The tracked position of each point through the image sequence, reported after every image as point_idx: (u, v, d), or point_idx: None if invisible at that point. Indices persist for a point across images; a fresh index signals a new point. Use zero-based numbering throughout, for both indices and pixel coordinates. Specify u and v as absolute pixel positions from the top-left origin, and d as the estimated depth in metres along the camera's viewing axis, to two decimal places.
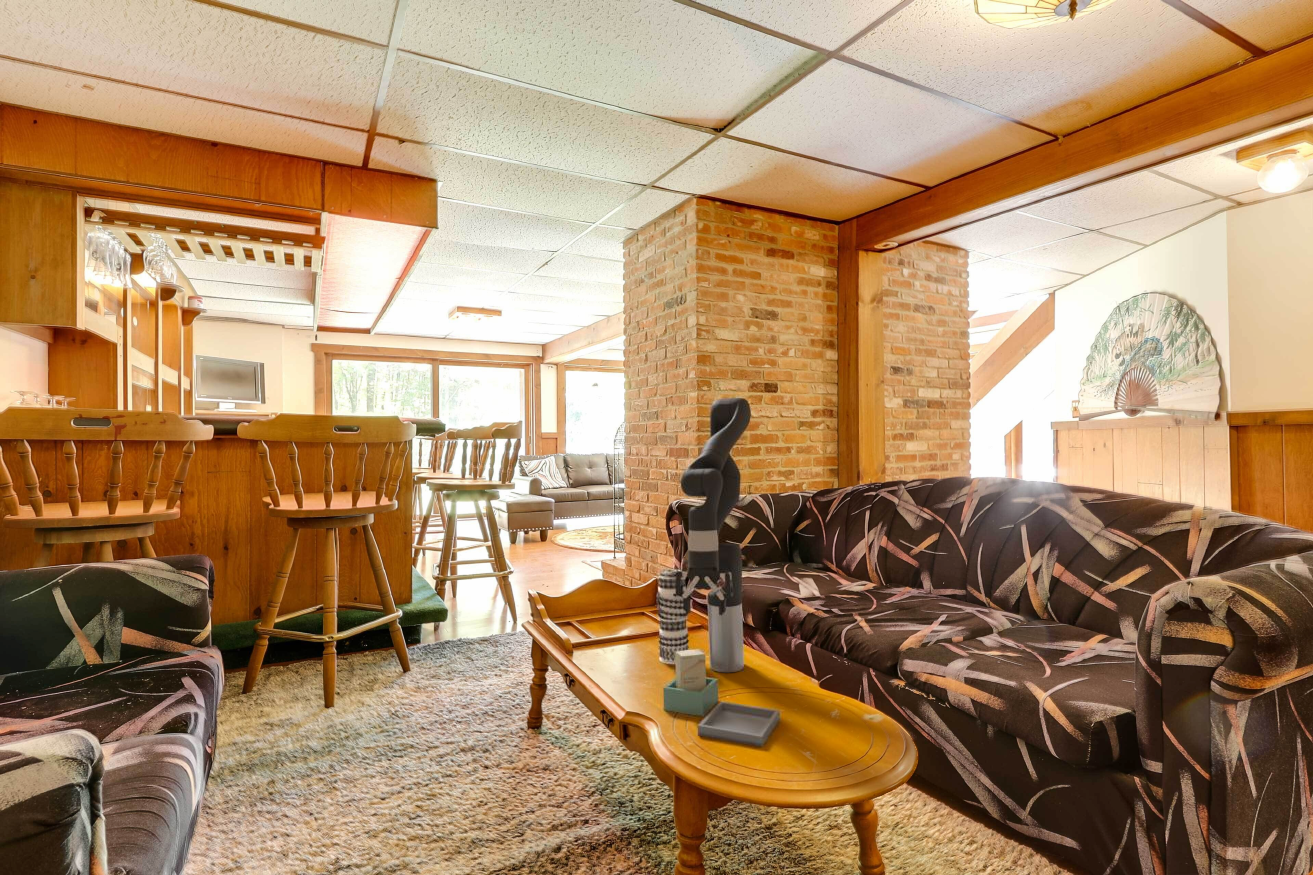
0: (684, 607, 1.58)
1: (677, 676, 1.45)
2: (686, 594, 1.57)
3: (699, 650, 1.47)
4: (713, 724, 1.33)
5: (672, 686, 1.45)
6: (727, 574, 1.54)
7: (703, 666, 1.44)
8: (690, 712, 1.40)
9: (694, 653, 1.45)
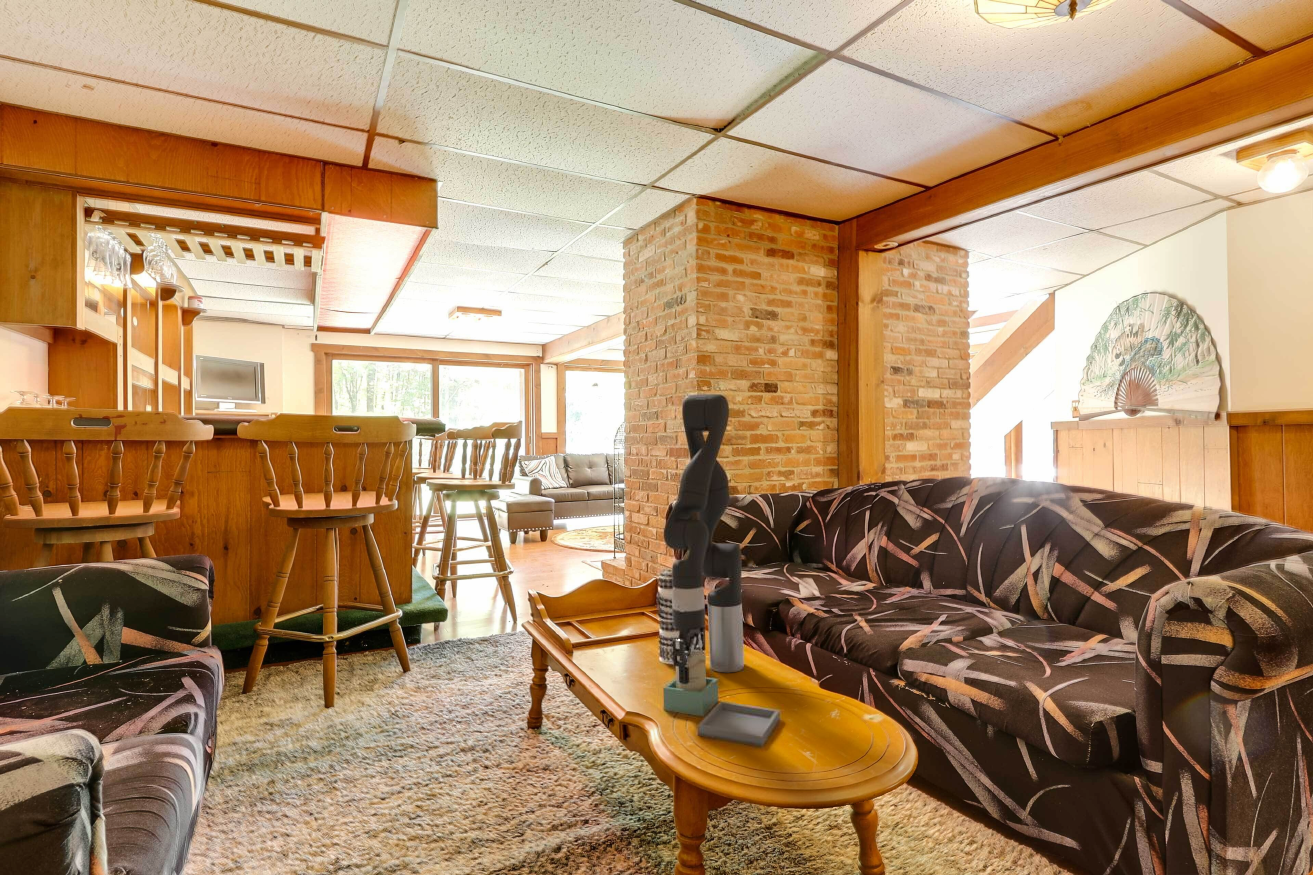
0: (685, 678, 1.41)
1: (677, 676, 1.45)
2: (688, 662, 1.41)
3: (699, 650, 1.47)
4: (713, 724, 1.33)
5: (672, 686, 1.45)
6: (704, 626, 1.50)
7: (703, 666, 1.44)
8: (690, 712, 1.40)
9: (694, 653, 1.45)
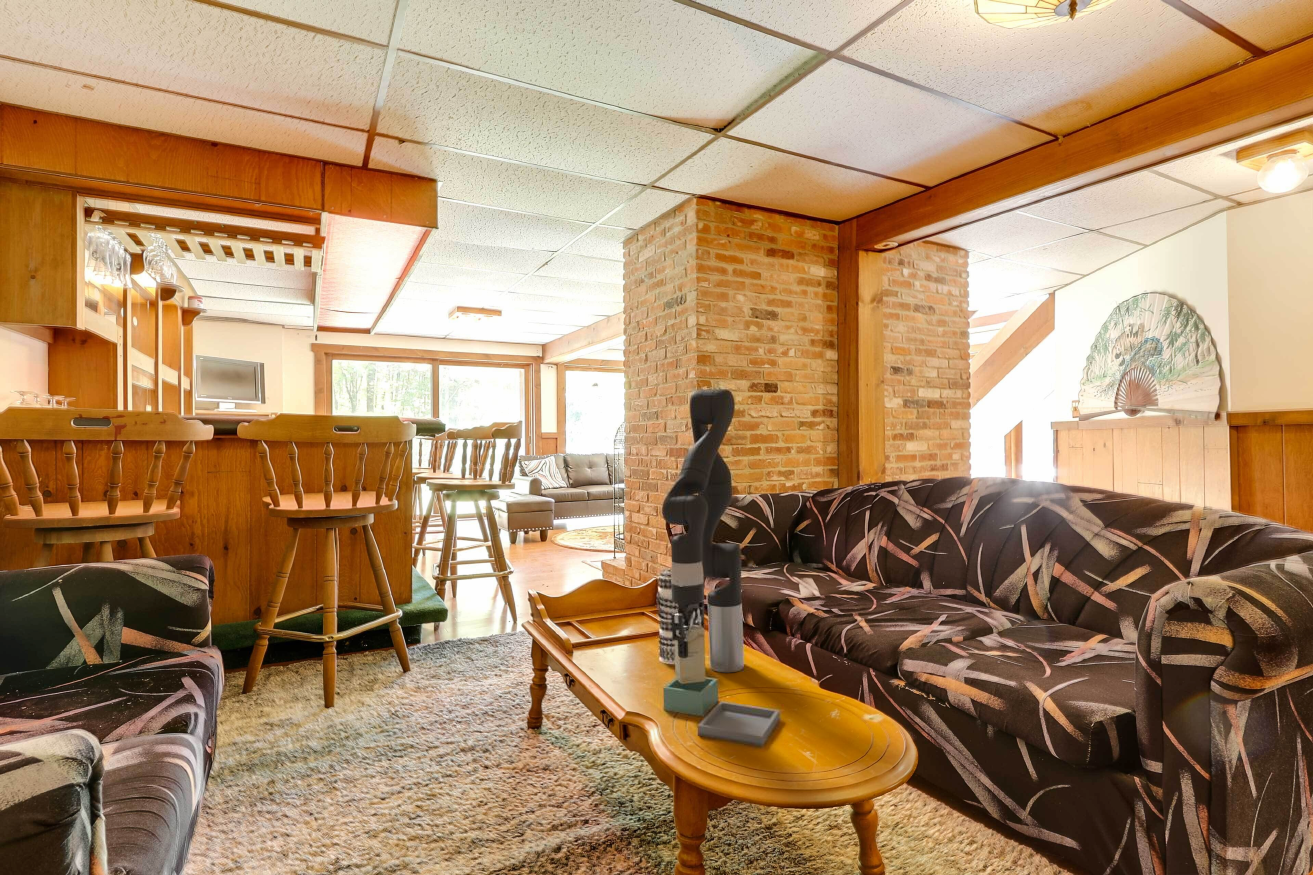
0: (684, 652, 1.41)
1: (676, 651, 1.45)
2: (687, 636, 1.42)
3: (698, 625, 1.47)
4: (713, 724, 1.33)
5: (672, 686, 1.45)
6: (703, 602, 1.51)
7: (702, 641, 1.44)
8: (690, 712, 1.40)
9: (693, 627, 1.45)
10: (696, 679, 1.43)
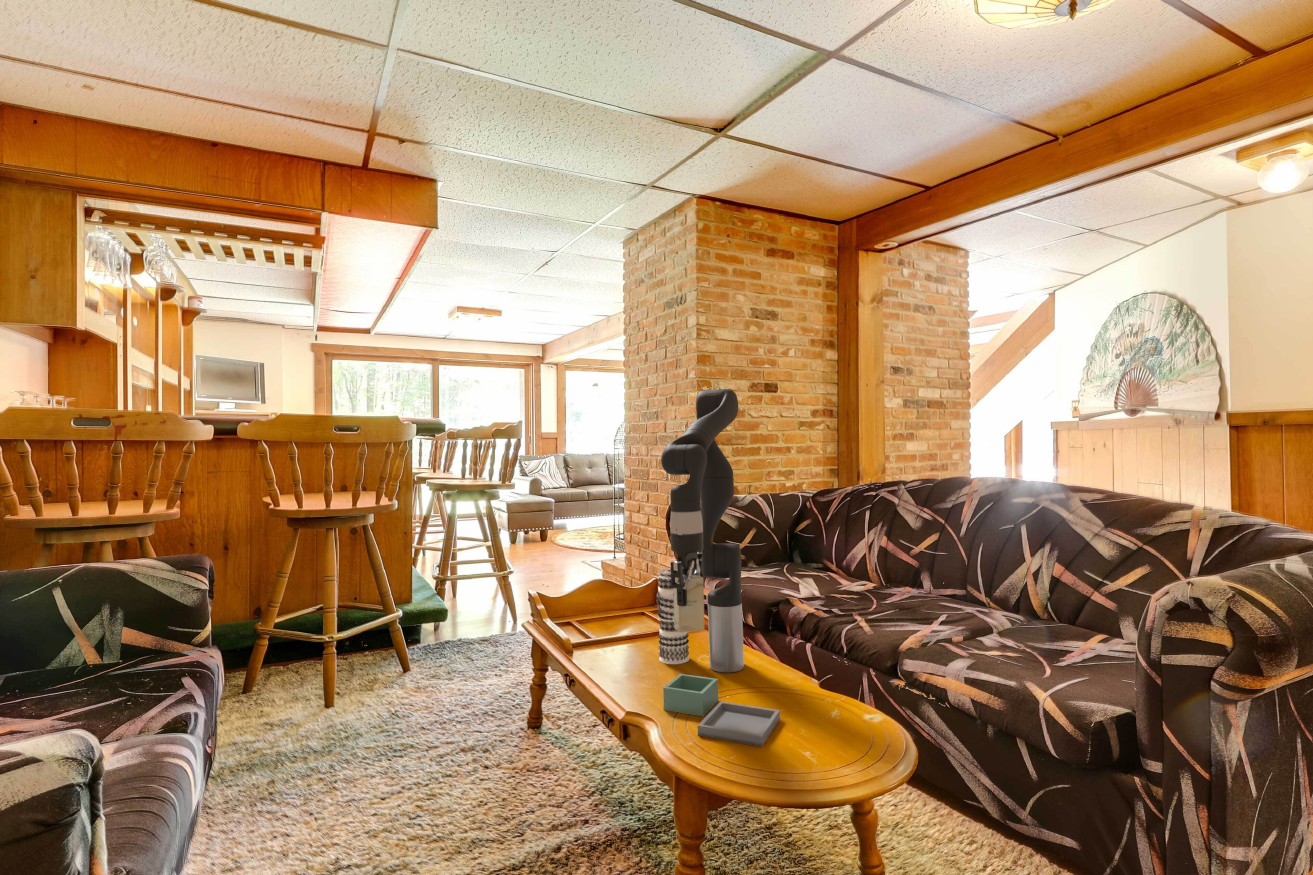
0: (683, 600, 1.41)
1: (675, 600, 1.45)
2: (686, 584, 1.42)
3: (697, 575, 1.47)
4: (713, 724, 1.33)
5: (672, 686, 1.45)
6: (702, 554, 1.51)
7: (701, 590, 1.44)
8: (690, 712, 1.40)
9: (692, 577, 1.45)
10: (695, 628, 1.43)
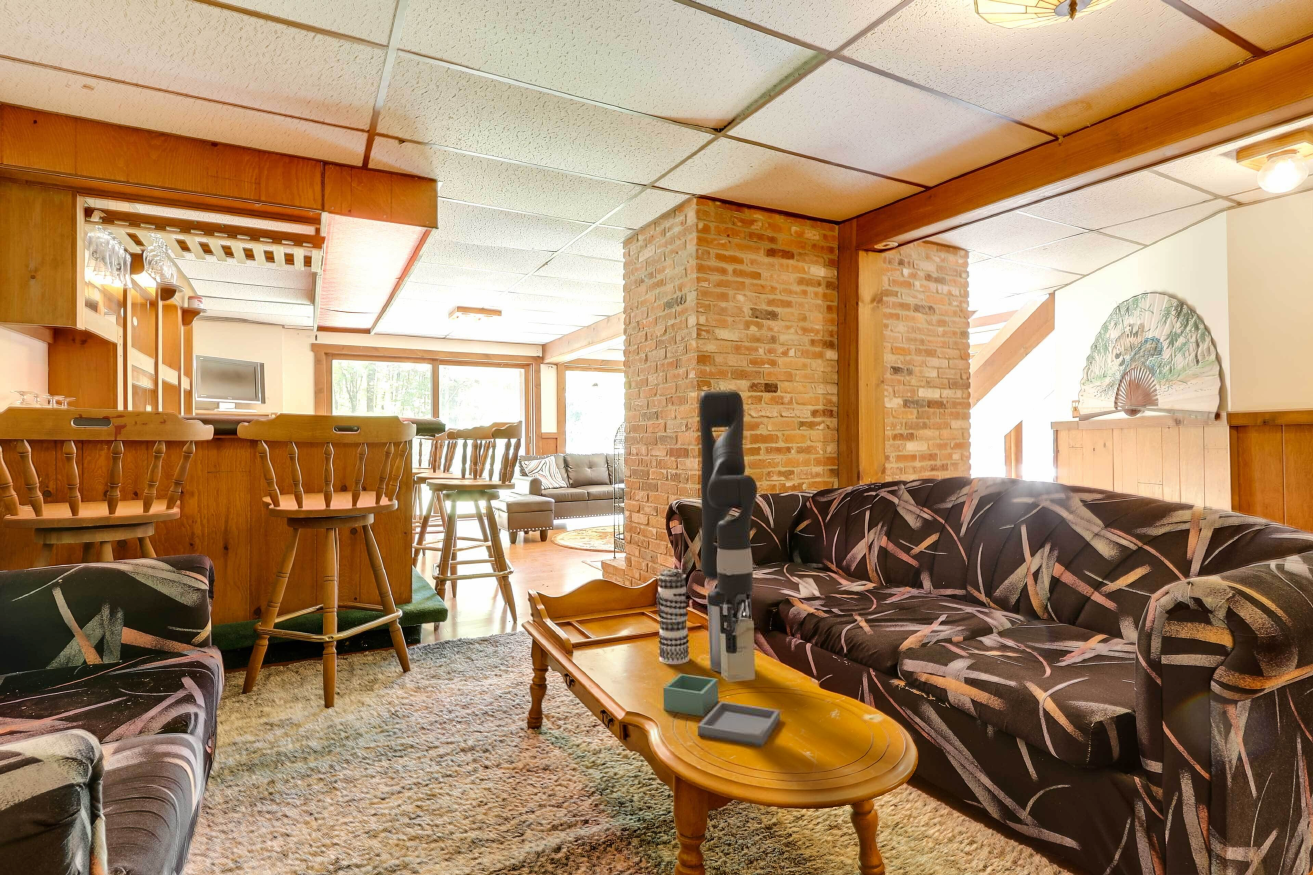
0: (733, 647, 1.29)
1: (723, 646, 1.33)
2: (736, 629, 1.29)
3: (746, 618, 1.35)
4: (713, 724, 1.33)
5: (672, 686, 1.45)
6: (750, 593, 1.38)
7: (751, 635, 1.32)
8: (690, 712, 1.40)
9: (741, 620, 1.32)
10: (745, 677, 1.31)
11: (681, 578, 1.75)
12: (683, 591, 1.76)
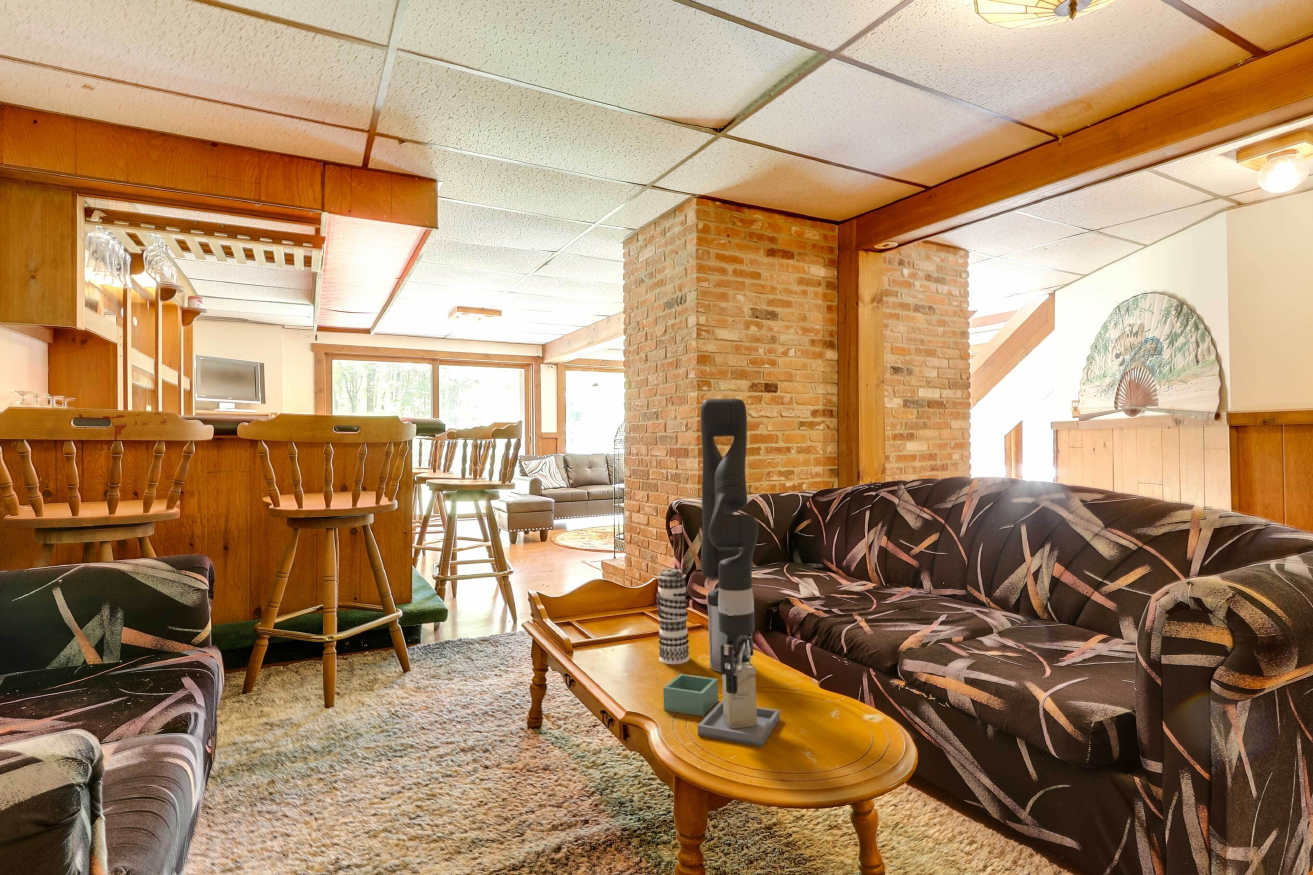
0: (733, 687, 1.28)
1: (724, 692, 1.33)
2: (736, 670, 1.29)
3: (748, 663, 1.35)
4: (713, 724, 1.33)
5: (672, 686, 1.45)
6: None
7: (753, 681, 1.32)
8: (690, 712, 1.40)
9: (743, 666, 1.33)
10: (747, 724, 1.31)
11: (681, 578, 1.75)
12: (683, 591, 1.76)
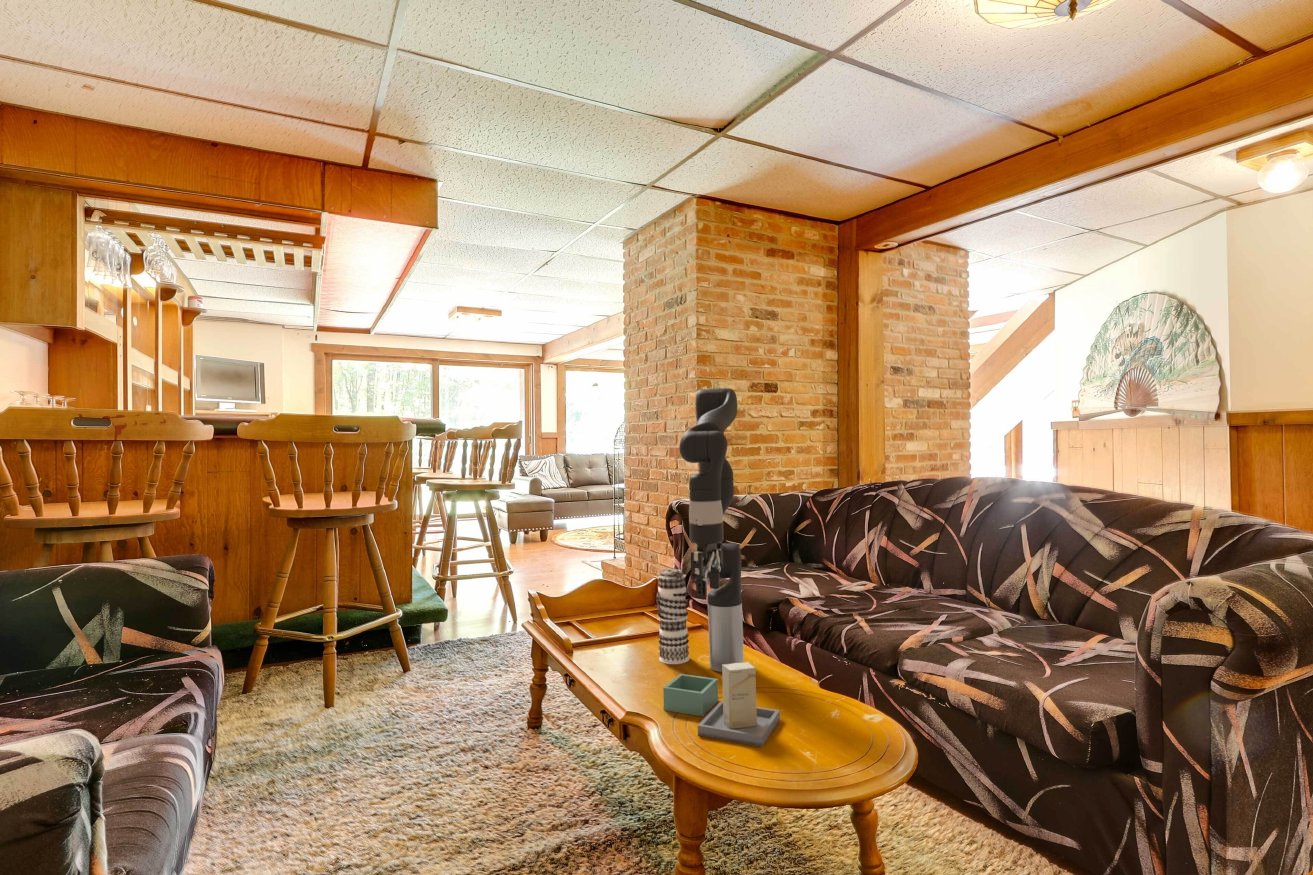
0: (703, 592, 1.35)
1: (724, 692, 1.33)
2: (706, 576, 1.36)
3: (748, 663, 1.35)
4: (713, 724, 1.33)
5: (672, 686, 1.45)
6: (721, 543, 1.45)
7: (753, 681, 1.32)
8: (690, 712, 1.40)
9: (743, 666, 1.33)
10: (747, 724, 1.31)
11: (681, 578, 1.75)
12: (683, 591, 1.76)
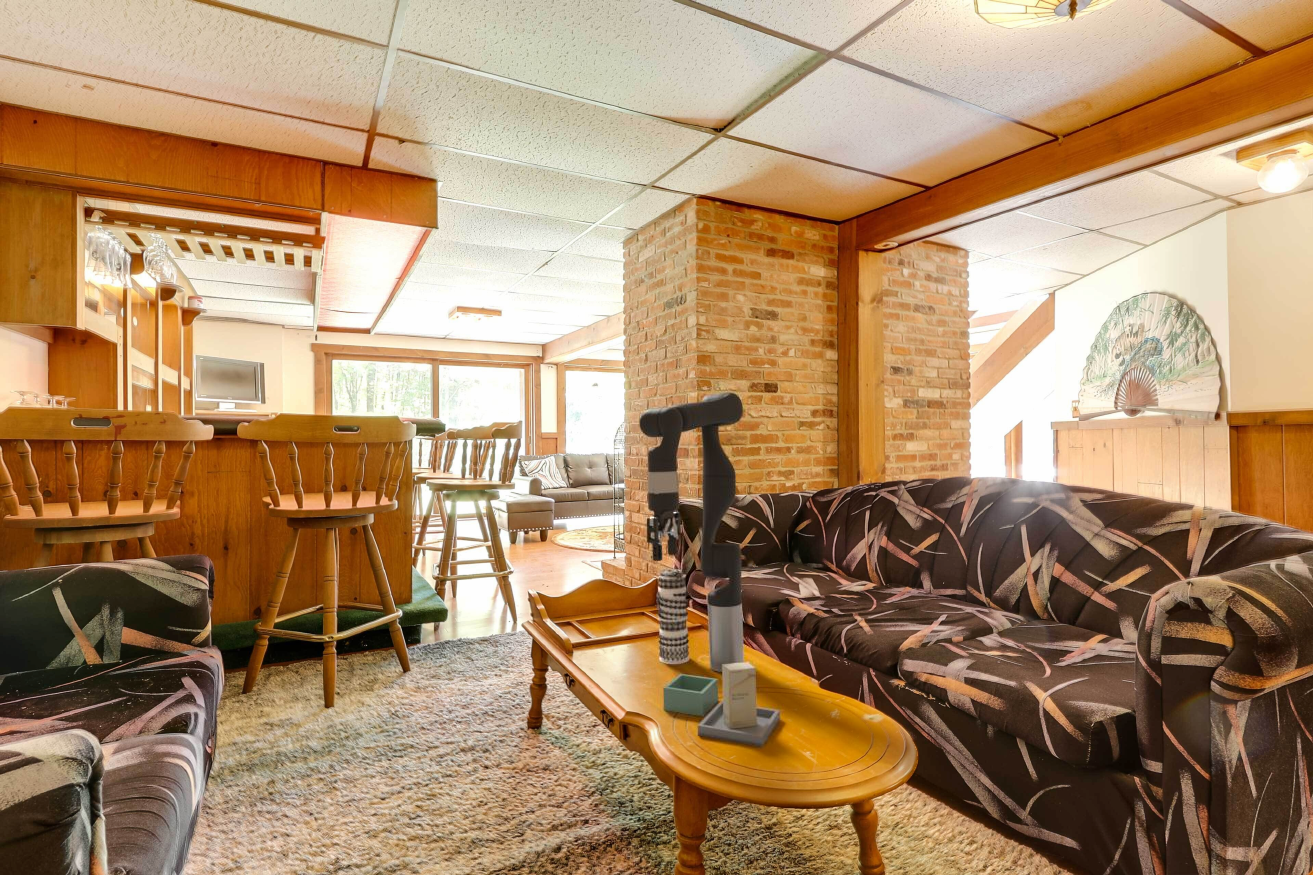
0: (658, 555, 1.47)
1: (724, 692, 1.33)
2: (661, 540, 1.47)
3: (748, 663, 1.35)
4: (713, 724, 1.33)
5: (672, 686, 1.45)
6: (679, 513, 1.57)
7: (753, 681, 1.32)
8: (690, 712, 1.40)
9: (743, 666, 1.33)
10: (747, 724, 1.31)
11: (681, 578, 1.75)
12: (683, 591, 1.76)
